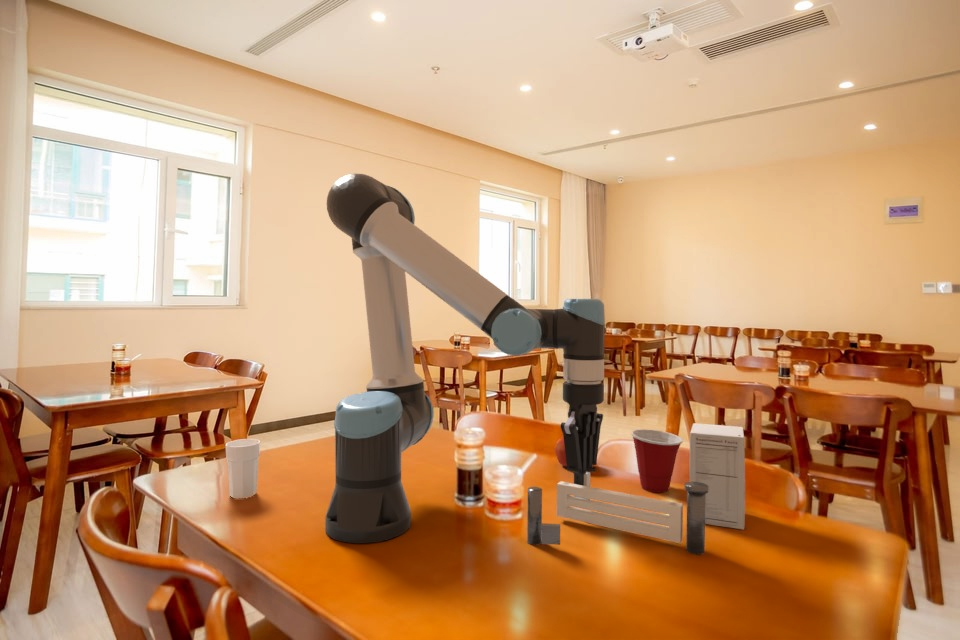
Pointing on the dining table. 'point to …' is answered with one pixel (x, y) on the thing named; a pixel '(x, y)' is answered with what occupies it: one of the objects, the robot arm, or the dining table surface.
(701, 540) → the hinge post
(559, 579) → the dining table surface
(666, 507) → the gate
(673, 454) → the plastic cup
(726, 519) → the supplement box
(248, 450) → the cup
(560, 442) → the tomato
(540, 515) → the post
